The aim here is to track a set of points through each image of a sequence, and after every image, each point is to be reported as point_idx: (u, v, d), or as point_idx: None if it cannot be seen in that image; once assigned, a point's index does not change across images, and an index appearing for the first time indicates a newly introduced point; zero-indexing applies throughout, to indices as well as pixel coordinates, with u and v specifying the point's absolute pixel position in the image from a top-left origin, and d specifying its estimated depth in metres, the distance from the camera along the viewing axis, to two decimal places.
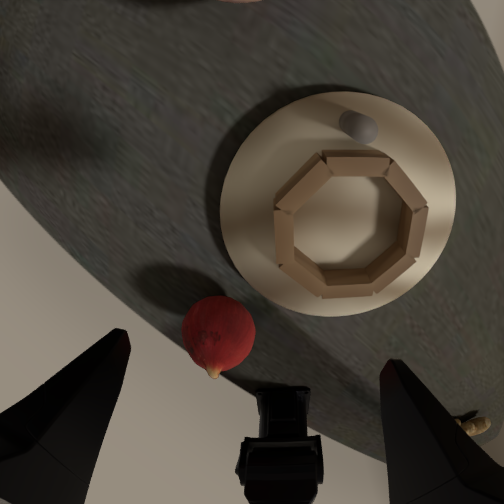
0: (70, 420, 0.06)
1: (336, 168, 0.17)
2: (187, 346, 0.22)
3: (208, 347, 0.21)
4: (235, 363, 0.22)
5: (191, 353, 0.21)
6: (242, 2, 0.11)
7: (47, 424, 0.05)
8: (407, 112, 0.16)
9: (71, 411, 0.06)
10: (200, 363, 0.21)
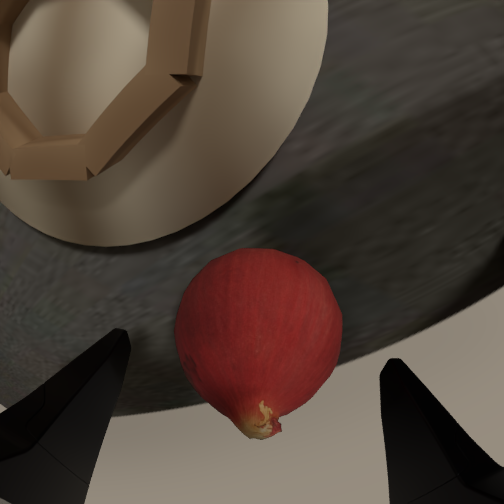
0: (70, 420, 0.06)
1: None
2: None
3: (203, 392, 0.08)
4: (287, 361, 0.08)
5: None
6: None
7: (47, 424, 0.05)
8: None
9: (71, 411, 0.06)
10: None
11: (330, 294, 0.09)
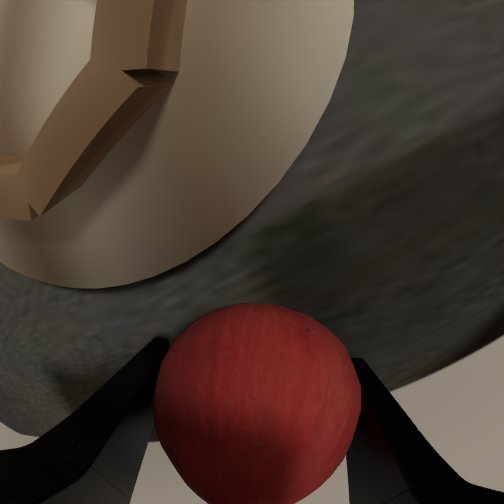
0: (120, 437, 0.06)
1: None
2: None
3: (189, 486, 0.06)
4: (292, 467, 0.05)
5: None
6: None
7: (99, 445, 0.05)
8: None
9: (121, 428, 0.06)
10: None
11: (349, 370, 0.07)
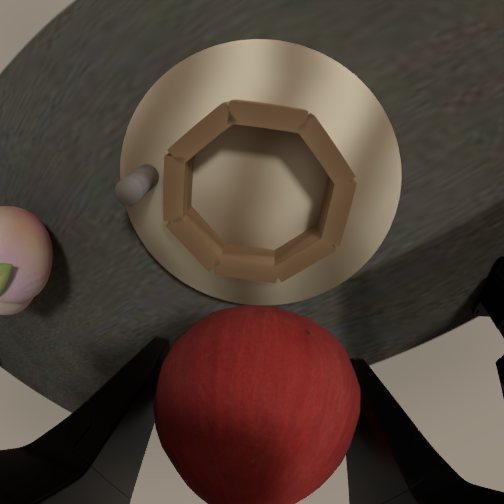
0: (120, 437, 0.06)
1: (174, 213, 0.17)
2: None
3: (189, 486, 0.06)
4: (292, 469, 0.05)
5: None
6: (46, 265, 0.18)
7: (99, 445, 0.05)
8: (135, 114, 0.16)
9: (121, 428, 0.06)
10: None
11: (349, 372, 0.07)
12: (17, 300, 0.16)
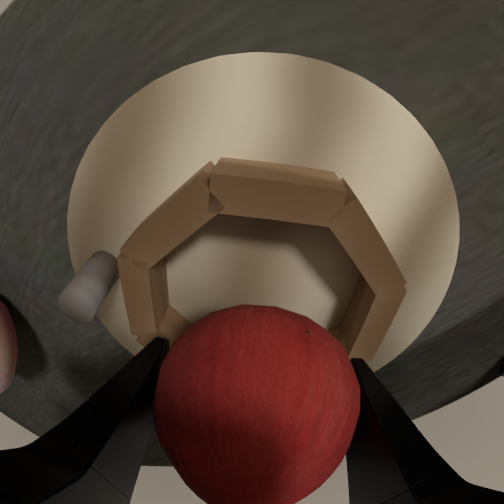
0: (120, 437, 0.06)
1: (144, 328, 0.12)
2: None
3: (189, 486, 0.06)
4: (291, 468, 0.05)
5: None
6: (8, 361, 0.13)
7: (99, 445, 0.05)
8: (76, 181, 0.11)
9: (121, 428, 0.06)
10: None
11: (348, 372, 0.07)
12: None
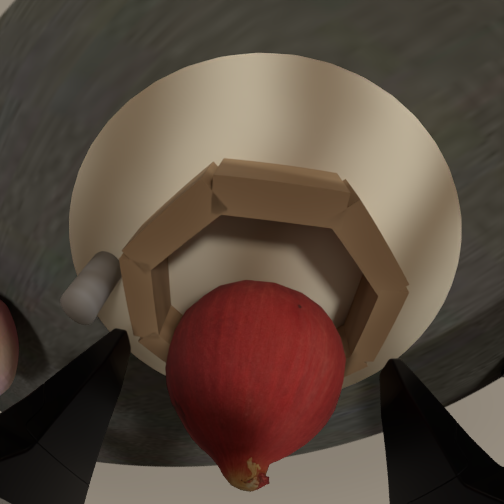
0: (70, 420, 0.06)
1: (146, 329, 0.12)
2: None
3: (193, 438, 0.07)
4: (279, 423, 0.07)
5: None
6: (9, 361, 0.13)
7: (47, 424, 0.05)
8: (78, 181, 0.11)
9: (71, 411, 0.06)
10: None
11: (334, 343, 0.08)
12: None
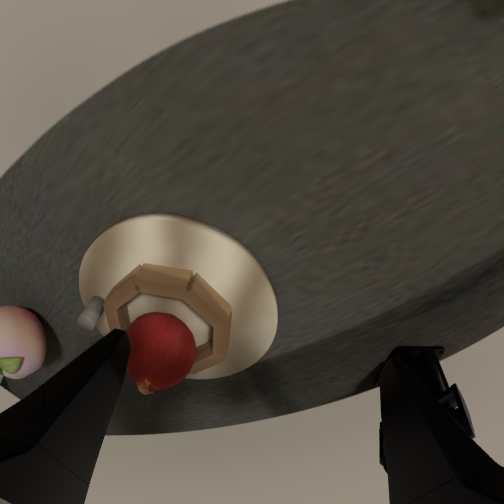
0: (70, 420, 0.06)
1: None
2: None
3: (128, 373, 0.19)
4: (156, 364, 0.19)
5: None
6: (42, 350, 0.25)
7: (47, 424, 0.05)
8: (82, 264, 0.23)
9: (71, 411, 0.06)
10: None
11: (183, 339, 0.21)
12: (26, 374, 0.23)
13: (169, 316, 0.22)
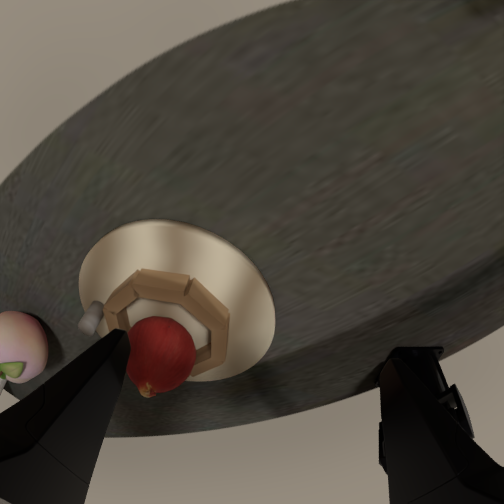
0: (70, 420, 0.06)
1: None
2: None
3: (130, 377, 0.20)
4: (156, 368, 0.19)
5: None
6: (44, 355, 0.25)
7: (47, 424, 0.05)
8: (81, 270, 0.23)
9: (71, 411, 0.06)
10: None
11: (182, 342, 0.21)
12: (29, 378, 0.24)
13: (168, 320, 0.22)
